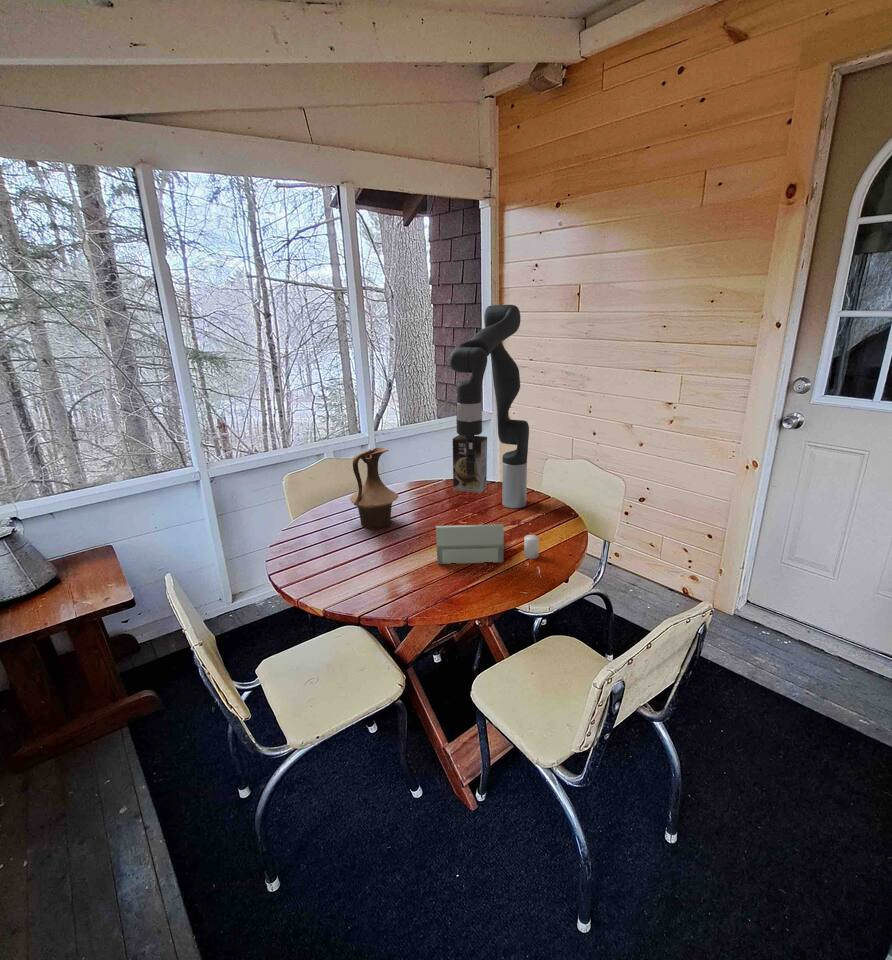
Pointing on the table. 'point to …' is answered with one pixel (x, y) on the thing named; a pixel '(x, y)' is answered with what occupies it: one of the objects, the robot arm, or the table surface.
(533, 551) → the white rounded capsule
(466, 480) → the coffee box
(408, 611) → the table surface
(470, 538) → the mint green corner panel
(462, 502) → the table surface
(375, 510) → the pitcher
